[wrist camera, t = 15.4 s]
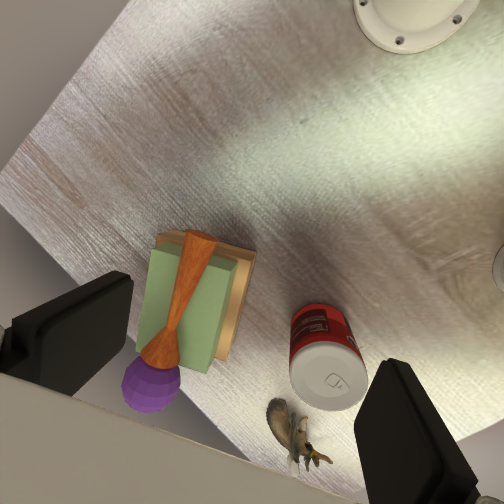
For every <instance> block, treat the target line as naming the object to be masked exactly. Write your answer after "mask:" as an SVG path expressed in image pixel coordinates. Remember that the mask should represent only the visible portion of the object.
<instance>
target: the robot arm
mask: <svg viewBox="0 0 504 504" xmlns="http://www.w3.org/2000/svg"><path fill="white" fill-rule="evenodd" d="M479 1H480V0H353V7H354V12H355V16H356V19H357V21H358V24H359V26H360V28H361V30H362V31H363V32H364V34H365V35H366V36H367V38H368V39H369V40H370V41H372V42H373V43H374V44H375V45H376V46H378V47H380V48H382V49H384V50H386V51H390V52H394V53H400V54H411V53H417V52H422V51H425V50H428V49H430V48H433V47H435V46H437V45H438V44H440V43H442V42H444V41H445V40H446V39H448V38H449V37H450V36H451V35H453V34H454V33H455V32H456V31H457V30H458V29H459V28H460V27H461V26H462V25H463V24H464V23H465V22H466V21H467V19H468V18H469V17H470V16H471V14H472V13H473V12H474V10H475V8H476V7H477V5H478V3H479ZM360 5H364V6H360ZM453 22H454V23H455V24H454V23H453ZM396 42H398V43H399V45H397V44H396ZM133 286H134V281H133V280H131V277H130V275H128V274H125V273H122V272H119V271H115V270H114V271H111V272H109V273H107V274H105V275H103V276H101V277H99V278H97V279H94V280H92V281H90V282H88V283H86V284H84V285H82V286H80V287H78V288H76V289H74V290H72V291H69V292H67V293H65V294H63V295H61V296H59V297H57V298H55V299H53V300H51V301H49V302H47V303H44V304H42V305H40V306H38V307H36V308H34V309H32V310H30V311H28V312H26V313H24V314H22V315H19V316H17V317H15V318H13V319H12V326H11V327H9V328H7V329H4V328H3V327H2V326H1V325H0V504H361V503H359V502H356V501H353V500H351V499H348V498H345V497H343V496H340V495H337V494H335V493H332V492H329V491H327V490H324V489H321V488H319V487H316V486H313V485H311V484H308V483H305V482H302V481H300V480H297V479H294V478H292V477H289V476H286V475H284V474H281V473H278V472H276V471H273V470H270V469H268V468H265V467H262V466H260V465H257V464H254V463H252V462H249V461H246V460H243V459H240V458H238V457H235V456H233V455H230V454H227V453H224V452H222V451H219V450H216V449H213V448H211V447H208V446H205V445H203V444H200V443H197V442H195V441H192V440H189V439H186V438H184V437H181V436H178V435H175V434H172V433H170V432H167V431H164V430H162V429H159V428H156V427H154V426H151V425H148V424H145V423H142V422H139V421H137V420H134V419H131V418H129V417H126V416H123V415H120V414H117V413H115V412H112V411H109V410H106V409H104V408H100V407H98V406H95V405H92V404H90V403H87V402H84V401H81V400H78V399H76V398H73V397H72V396H73V395H74V394H75V393H76V392H77V391H78V390H79V389H80V388H81V387H82V386H83V385H84V384H85V383H86V382H88V381H89V379H91V378H92V377H93V376H94V375H95V374H96V373H97V372H98V371H99V370H100V369H101V368H102V367H103V366H105V365H106V364H107V363H108V362H109V361H110V360H111V359H112V358H113V357H114V356H115V355H116V354H117V353H118V352H119V351H120V350H121V349H122V348H123V346H124V343H125V340H126V333H127V327H128V320H129V313H130V307H131V300H132V293H133ZM354 434H355V438H356V443H357V448H358V452H359V457H360V462H361V466H362V471H363V476H364V480H365V485H366V490H367V494H368V499H369V504H504V502H502V501H500V500H498V499H496V498H493V497H489V496H481V495H480V493H479V492H478V490H477V488H476V484H477V483H478V479H477V478H476V476H475V474H474V472H473V471H472V469H471V467H470V466H469V464H468V462H467V461H466V459H465V457H464V456H463V454H462V452H461V450H460V449H459V447H458V445H457V444H456V442H455V440H454V439H453V437H452V435H451V434H450V432H449V430H448V429H447V427H446V425H445V423H444V422H443V420H442V418H441V417H440V415H439V413H438V412H437V410H436V408H435V407H434V405H433V403H432V402H431V400H430V398H429V397H428V395H427V393H426V391H425V390H424V388H423V386H422V385H421V383H420V381H419V380H418V378H417V376H416V375H415V373H414V371H413V370H412V368H411V366H410V365H409V364H408V363H406V362H403V361H399V360H396V359H393V358H389V359H388V360H387V361H386V360H383V361H382V362H381V364H380V366H379V368H378V370H377V372H376V375H375V377H374V379H373V381H372V383H371V386H370V388H369V390H368V392H367V394H366V397H365V399H364V401H363V403H362V405H361V408H360V410H359V412H358V414H357V416H356V419H355V422H354Z"/></svg>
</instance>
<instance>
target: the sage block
mask: <svg viewBox="0 0 504 504" xmlns="http://www.w3.org/2000/svg"><path fill="white" fill-rule="evenodd" d="M181 251H182V246H180V245H177V244H173V243H170V242H167V243H164V244H162V245H159V246H157V247H154V248H152V250H151V256H150V262H149V268H148V275H147V281H146V287H145V293H144V299H143V305H142V312H141V318H140V324H139V330H138V336H137V342H136V349H135V351H137V352H140V353H141V350H142V349H143V348H144V347H145V346H146V345H147V344H148V343H149V342H150V341H151V340H152V339H153V338H154V337H155V336H156V335H157V334H158V333H159V332H160V331H161V330H162V329H163V328H164V327H165V326H166V322H167V317H168V313H169V308H170V303H171V298H172V294H173V289H174V284H175V279H176V275H177V270H178V265H179V260H180V256H181ZM237 265H238V262H236V261H233V260H229V259H226V258H222V257H219V256H215V255H212V256H211V258H210V260H209V262H208V264H207V266H206V268H205V270H204V272H203V274H202V276H201V278H200V280H199V283H198V285H197V287H196V289H195V291H194V293H193V295H192V297H191V299H190V301H189V303H188V305H187V307H186V309H185V311H184V313H183V315H182V317H181V319H180V321H179V323H178V325H177V327H176V331H177V338H178V345H179V351H180V362H179V364H178V365H180V366H183V367H186V368H189V369H192V370H195V371H198V372H201V373H204V374H206V373H207V371H208V369H209V367H210V365H211V363H212V361H213V359H214V357H215V355H216V351H217V347H218V343H219V339H220V335H221V331H222V327H223V322H224V318H225V314H226V310H227V306H228V302H229V298H230V294H231V290H232V286H233V282H234V278H235V274H236V269H237Z"/></svg>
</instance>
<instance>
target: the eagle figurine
mask: <svg viewBox="0 0 504 504" xmlns="http://www.w3.org/2000/svg"><path fill="white" fill-rule="evenodd" d="M266 417H267V421H268V425H269V427H270V429H271V431H272V433H273V435H274V436H275V438H276V439H277V440H278V442H279V443H280V444H281V445H282V446H283V447H285V448H286V449H288V451H289V452H290V454H289V456H288V457H287V463H288V466H289V470H290V472H291V475H292V476H293V477H298V476H299V464H298V463H300V461H299V456H300V455H302V456H305V457H304V461H305V460H306V461H305V465H306V470H307V471H308V472H309V467H308V466H309V462H310V460H311V458H312V460H313V462H314V464H315V466H316V467H318V466H319V459H322V460H325V461H327V462H328V463H330V464H333V462H332V461H331V460H330V458H329V457H327V456H325V455H322V454H320V453H318V452H317V451H315V450H314V449H313V447H312V445H311V444H310V442H307V441H306V443H305V440H306V426H307V419H308V417H305V419H303V420H302V421H301V423H300V426H299V429H297V423H296V421H295V413H294V412H292V414H291V417H292V420H291V425H290V422H289V419H288V416H287V409H286V403H285V401H282V400H281V399H279V400H277V399H274V400H271V403H269V408H267V412H266Z"/></svg>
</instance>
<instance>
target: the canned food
mask: <svg viewBox="0 0 504 504" xmlns="http://www.w3.org/2000/svg"><path fill="white" fill-rule="evenodd" d="M289 375H290V382H291V385H292V387H293V389H294V391H295V393H296V394H297V395H298V396H299V397H300V399H301V400H303V401H304V402H305V403H307V404H308V405H310V406H312V407H314V408H317V409H320V410H324V411H341V410H345V409H348V408H351V407H352V406H354V405H356V404H357V403H358V402H359V401H360V400H361V399H362V398H363V397H364V395H365V393H366V391H367V388H368V375H367V370H366V367H365V364H364V361H363V358H362V356H361V353H360V351H359V348H358V346H357V343H356V341H355V338H354V336H353V334H352V331H351V329H350V326H349V324H348V322H347V320H346V318H345V317H344V316H343V314H342V313H340V312H339V311H338V310H337V309H335V308H333V307H331V306H329V305H325V304H311V305H308V306H305V307H304V308H302V309H301V310H300V311H299V312H298V313H297V314H296V315H295V316H294V318H293V320H292V323H291V335H290V356H289Z"/></svg>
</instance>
